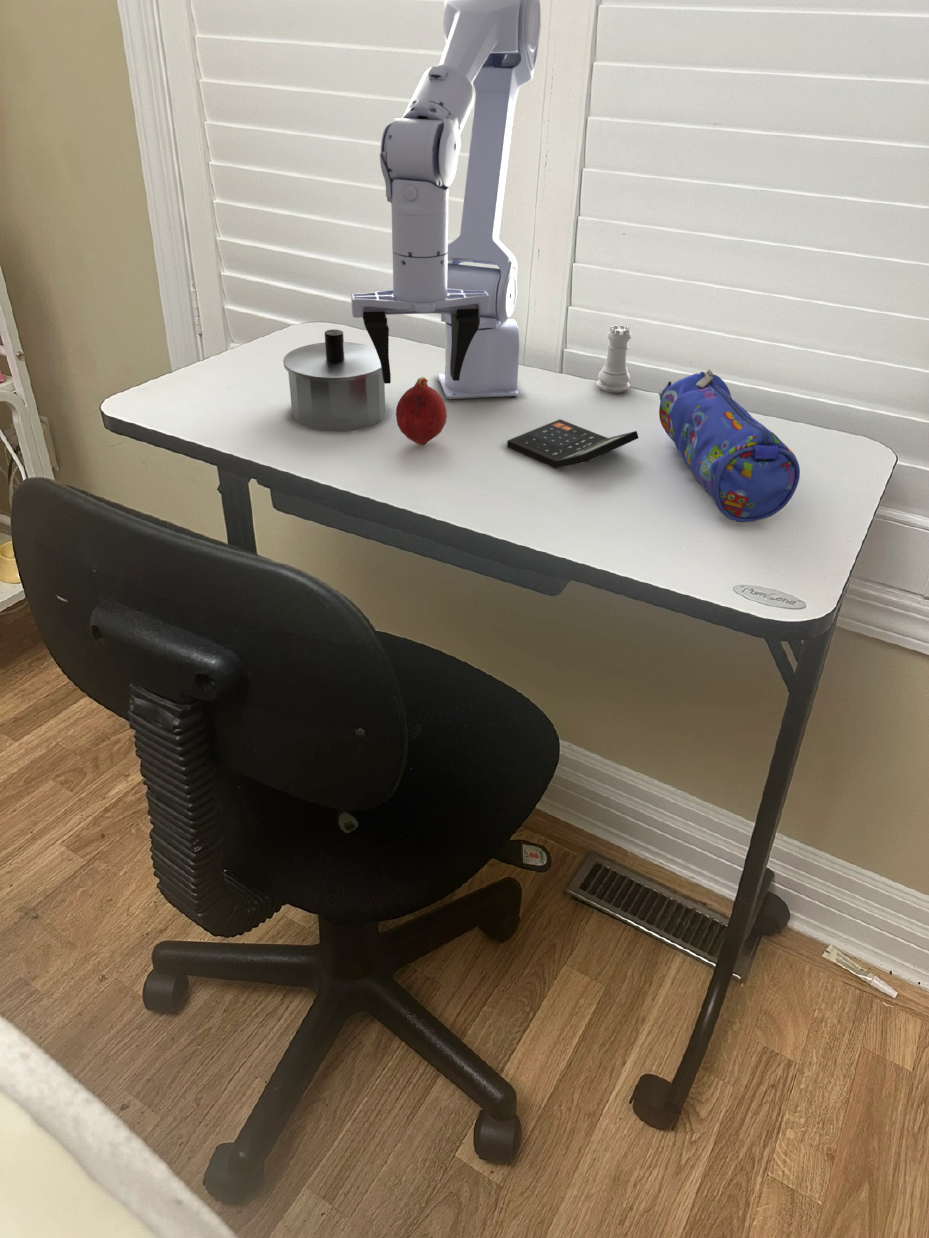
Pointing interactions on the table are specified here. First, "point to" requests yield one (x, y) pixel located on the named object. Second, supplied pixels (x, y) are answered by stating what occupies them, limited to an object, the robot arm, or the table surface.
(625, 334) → the rook chess piece
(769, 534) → the table surface
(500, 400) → the table surface
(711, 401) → the pencil case
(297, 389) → the pot
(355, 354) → the pot lid
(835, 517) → the table surface
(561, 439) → the calculator
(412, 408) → the red oval fruit
